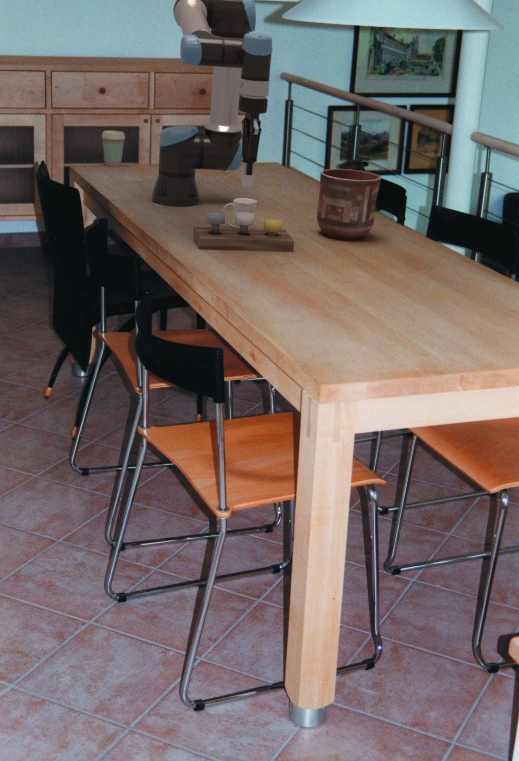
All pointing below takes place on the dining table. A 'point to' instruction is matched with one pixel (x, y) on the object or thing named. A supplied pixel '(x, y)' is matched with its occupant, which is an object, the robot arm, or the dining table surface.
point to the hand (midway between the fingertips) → (247, 186)
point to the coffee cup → (113, 147)
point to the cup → (242, 207)
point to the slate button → (215, 220)
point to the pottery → (347, 203)
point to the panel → (242, 240)
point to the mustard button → (272, 226)
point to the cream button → (244, 221)
